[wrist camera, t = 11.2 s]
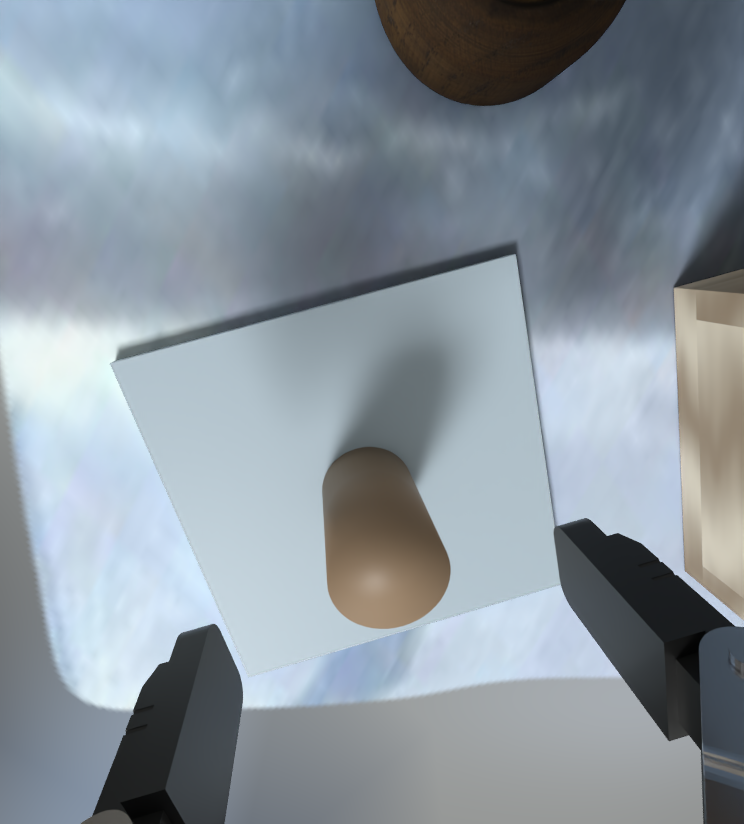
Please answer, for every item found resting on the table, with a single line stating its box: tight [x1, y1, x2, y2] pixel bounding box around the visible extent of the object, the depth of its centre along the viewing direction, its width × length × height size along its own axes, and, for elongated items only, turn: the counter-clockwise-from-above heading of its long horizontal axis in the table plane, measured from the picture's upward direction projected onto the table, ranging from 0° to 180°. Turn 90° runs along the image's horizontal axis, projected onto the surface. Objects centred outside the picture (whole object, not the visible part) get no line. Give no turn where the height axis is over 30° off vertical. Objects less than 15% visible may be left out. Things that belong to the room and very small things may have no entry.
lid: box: [110, 254, 561, 677], centre depth 15 cm, size 13×13×6 cm
